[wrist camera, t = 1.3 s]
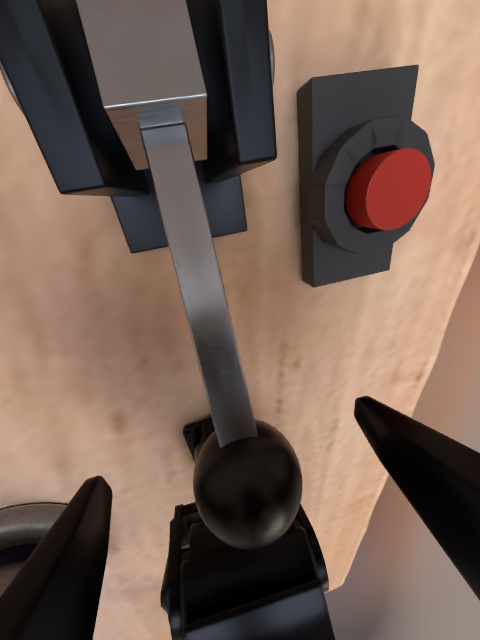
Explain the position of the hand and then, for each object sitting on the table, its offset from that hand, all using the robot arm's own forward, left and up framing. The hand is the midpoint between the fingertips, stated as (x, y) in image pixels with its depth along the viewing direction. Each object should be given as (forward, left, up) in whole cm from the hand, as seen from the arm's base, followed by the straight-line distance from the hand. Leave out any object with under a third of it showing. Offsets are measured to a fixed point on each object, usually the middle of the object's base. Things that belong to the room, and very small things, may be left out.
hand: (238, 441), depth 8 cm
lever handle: (+5, 0, -2) cm, 5 cm away
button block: (+6, -11, -11) cm, 16 cm away
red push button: (+6, -11, -8) cm, 14 cm away
